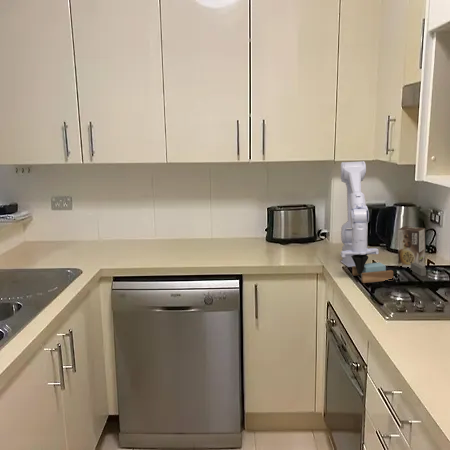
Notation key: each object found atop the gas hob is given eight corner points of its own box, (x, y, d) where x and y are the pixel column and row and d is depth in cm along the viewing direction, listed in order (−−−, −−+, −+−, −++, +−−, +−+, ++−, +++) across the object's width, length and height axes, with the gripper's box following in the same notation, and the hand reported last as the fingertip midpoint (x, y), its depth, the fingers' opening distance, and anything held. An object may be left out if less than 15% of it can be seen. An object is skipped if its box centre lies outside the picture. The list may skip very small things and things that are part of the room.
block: (360, 276, 188) (360, 264, 187) (379, 274, 189) (380, 262, 188) (365, 280, 183) (365, 267, 182) (385, 278, 184) (385, 265, 183)
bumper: (410, 270, 192) (410, 263, 191) (415, 269, 192) (415, 262, 191) (421, 275, 184) (421, 268, 183) (425, 275, 184) (426, 268, 183)
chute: (352, 274, 190) (352, 266, 190) (380, 271, 192) (380, 263, 191) (363, 282, 180) (363, 274, 179) (393, 279, 181) (393, 271, 181)
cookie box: (425, 266, 196) (426, 227, 193) (418, 269, 191) (419, 230, 188) (404, 262, 202) (404, 225, 199) (397, 266, 198) (397, 228, 195)
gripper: (345, 243, 177) (345, 277, 180) (382, 239, 179) (381, 274, 182) (338, 239, 184) (338, 272, 187) (374, 236, 186) (374, 269, 189)
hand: (359, 273), depth 185 cm, fingers closed
